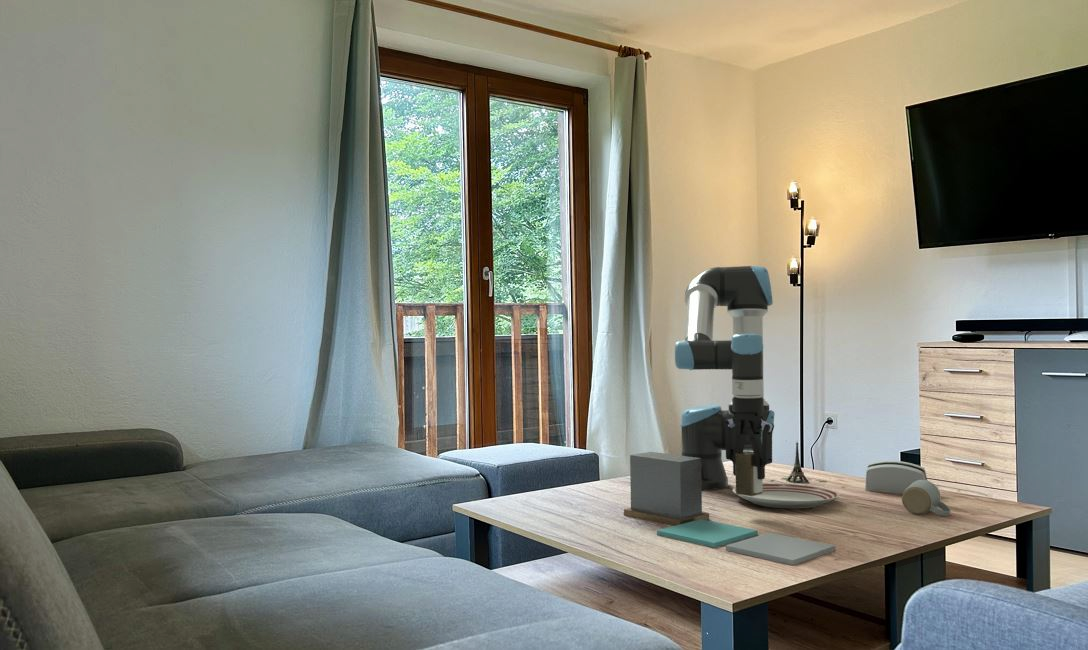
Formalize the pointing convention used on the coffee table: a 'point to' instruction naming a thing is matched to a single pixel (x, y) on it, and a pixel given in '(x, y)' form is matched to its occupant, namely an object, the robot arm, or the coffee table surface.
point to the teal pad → (707, 533)
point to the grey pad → (780, 548)
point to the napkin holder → (892, 476)
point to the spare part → (745, 473)
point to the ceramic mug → (924, 499)
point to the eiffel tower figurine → (797, 472)
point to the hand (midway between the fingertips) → (749, 490)
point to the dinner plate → (791, 496)
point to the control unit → (666, 488)
